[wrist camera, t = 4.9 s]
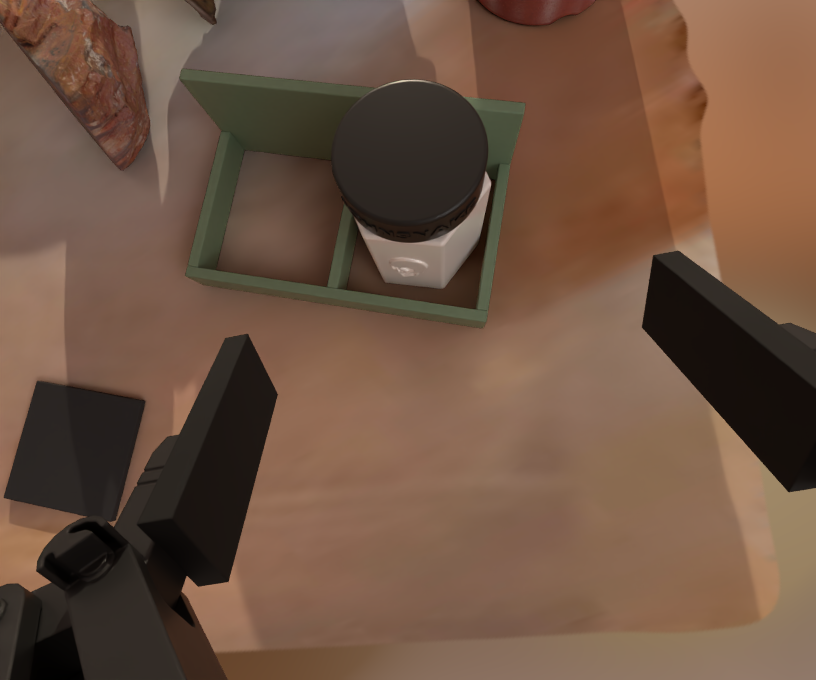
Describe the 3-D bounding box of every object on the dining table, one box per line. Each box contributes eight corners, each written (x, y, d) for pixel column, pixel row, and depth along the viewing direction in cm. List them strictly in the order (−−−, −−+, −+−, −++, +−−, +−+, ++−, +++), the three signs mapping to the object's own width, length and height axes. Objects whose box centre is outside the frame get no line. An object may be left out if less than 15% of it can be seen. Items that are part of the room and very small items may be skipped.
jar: (356, 283, 34) (309, 217, 22) (371, 184, 35) (334, 72, 23) (472, 295, 33) (488, 234, 21) (484, 194, 34) (505, 82, 22)
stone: (60, 93, 39) (-71, -14, 29) (134, 33, 39) (29, -92, 29) (137, 191, 37) (24, 112, 27) (215, 127, 37) (132, 26, 27)
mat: (9, 496, 34) (3, 498, 33) (42, 381, 35) (36, 380, 34) (115, 520, 33) (110, 522, 32) (145, 400, 34) (141, 400, 33)
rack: (202, 284, 35) (132, 249, 27) (238, 140, 37) (181, 67, 29) (483, 328, 33) (495, 304, 25) (507, 172, 34) (525, 102, 26)
